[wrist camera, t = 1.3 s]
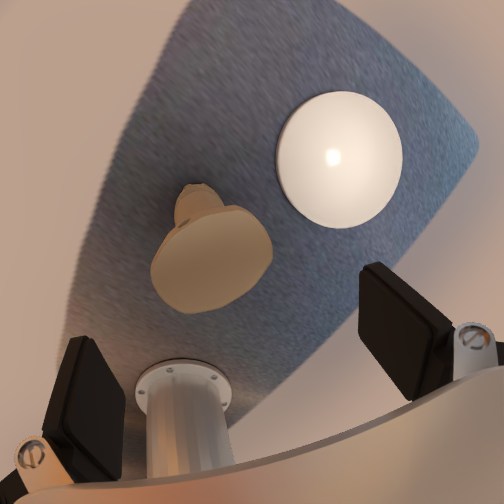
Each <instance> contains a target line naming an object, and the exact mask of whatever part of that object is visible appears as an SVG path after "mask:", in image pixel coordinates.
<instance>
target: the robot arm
mask: <svg viewBox="0 0 504 504" xmlns="http://www.w3.org/2000/svg"><path fill="white" fill-rule="evenodd" d="M358 333H359V337H360V339H361V340H362V342H363V343H364V344H365V345H366V347H367V348H368V349H369V351H370V352H371V353H372V355H373V356H374V357H375V359H376V360H377V361H378V363H379V364H380V365H381V366H382V368H383V369H384V370H385V372H386V373H387V374H388V376H389V377H390V378H391V380H392V381H393V382H394V384H395V385H396V386H397V388H398V389H399V390H400V391H401V393H402V394H403V396H404V397H405V398H406V399H407V400H408V401H411V400H412V402H411V403H409V404H407V405H405V406H403V407H400V408H398V409H396V410H394V411H392V412H390V413H388V414H385V415H383V416H381V417H379V418H376V419H374V420H372V421H369V422H367V423H365V424H362V425H360V426H357V427H355V428H353V429H350V430H347V431H345V432H342V433H339V434H337V435H334V436H331V437H329V438H326V439H323V440H320V441H317V442H314V443H311V444H308V445H305V446H302V447H299V448H296V449H292V450H289V451H286V452H282V453H279V454H275V455H272V456H268V457H265V458H261V459H257V460H253V461H249V462H245V463H240V464H236V465H235V461H234V457H233V452H232V448H231V444H230V439H229V435H228V430H227V426H226V421H225V416H224V411H225V410H226V409H227V408H228V406H229V404H230V402H231V398H232V391H231V386H230V383H229V381H228V379H227V378H226V376H225V375H224V374H223V373H222V372H221V371H220V370H218V369H217V368H215V367H214V366H212V365H209V364H207V363H204V362H200V361H196V360H188V359H178V360H170V361H165V362H162V363H159V364H156V365H154V366H152V367H150V368H149V369H147V370H146V371H145V372H144V373H143V374H142V375H141V376H140V378H139V379H138V381H137V384H136V390H135V398H136V401H137V404H138V406H139V407H140V409H141V410H142V411H143V412H144V413H145V414H146V415H147V423H146V448H147V479H139V480H127V481H118V479H120V478H121V474H122V446H123V428H124V414H125V402H126V399H125V394H124V392H123V390H122V388H121V387H120V385H119V383H118V382H117V380H116V378H115V377H114V375H113V373H112V372H111V370H110V368H109V366H108V365H107V363H106V361H105V359H104V358H103V356H102V354H101V352H100V350H99V349H98V347H97V345H96V343H95V341H94V340H93V339H89V338H88V337H87V336H85V335H84V336H79V337H74V338H71V339H70V341H69V344H68V346H67V349H66V352H65V355H64V358H63V360H62V363H61V366H60V369H59V372H58V375H57V378H56V382H55V385H54V388H53V391H52V394H51V398H50V401H49V405H48V408H47V412H46V415H45V419H44V423H43V426H42V430H43V435H42V437H40V436H32V437H28V438H26V439H25V440H23V441H22V442H21V443H20V444H19V446H18V447H17V449H16V451H15V454H14V462H15V466H16V469H15V470H14V471H13V472H11V473H10V474H9V475H8V476H7V477H5V478H4V479H3V480H2V481H1V482H0V504H504V342H497V341H495V337H494V334H493V333H492V331H491V330H490V329H489V328H487V327H486V326H484V325H482V324H480V323H474V322H469V323H464V324H461V325H460V326H458V327H457V329H455V328H454V327H453V326H452V322H451V321H450V320H449V319H448V318H447V317H446V316H444V315H443V314H442V313H441V312H440V311H439V310H438V309H436V308H435V307H434V306H433V305H432V304H431V303H430V302H428V301H427V300H426V299H425V298H424V297H422V296H421V295H420V294H419V293H418V292H417V291H415V290H414V289H413V288H412V287H411V286H409V285H408V284H407V283H406V282H405V281H403V280H402V279H401V278H400V277H398V276H397V275H396V274H395V273H394V272H392V271H391V270H390V269H389V268H387V267H386V266H385V265H384V264H382V263H381V262H375V263H371V264H368V265H365V266H364V267H363V270H362V271H360V273H359V318H358Z"/></svg>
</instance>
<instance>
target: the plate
mask: <svg viewBox="0 0 504 504" xmlns="http://www.w3.org/2000/svg"><path fill="white" fill-rule="evenodd" d="M275 163H276V172H277V176H278V180H279V183H280V186H281V188H282V190H283V192H284V194H285V196H286V197H287V199H288V200H289V202H290V203H291V204H292V205H293V206H294V207H295V208H296V209H297V210H298V211H299V212H300V213H302V214H303V215H304V216H305V217H307V218H308V219H310V220H311V221H313V222H315V223H317V224H319V225H322V226H326V227H329V228H348V227H353V226H357V225H360V224H362V223H364V222H366V221H368V220H369V219H371V218H373V217H374V216H375V215H376V214H378V213H379V212H380V211H381V210H382V209H383V208H384V207H385V205H386V204H387V203H388V202H389V200H390V199H391V197H392V195H393V194H394V192H395V189H396V187H397V185H398V182H399V179H400V174H401V169H402V147H401V142H400V138H399V135H398V132H397V129H396V127H395V125H394V123H393V121H392V120H391V118H390V117H389V115H388V114H387V113H386V112H385V111H384V109H383V108H381V107H380V106H379V105H378V104H377V103H375V102H374V101H373V100H371V99H369V98H367V97H365V96H363V95H360V94H357V93H353V92H344V91H338V92H331V93H324V94H321V95H317V96H315V97H313V98H311V99H308V100H307V101H305V102H304V103H302V104H301V105H300V106H299V107H298V108H297V109H295V110H294V112H293V113H292V114H291V115H290V116H289V118H288V119H287V121H286V122H285V124H284V126H283V128H282V130H281V132H280V135H279V138H278V142H277V147H276V158H275Z"/></svg>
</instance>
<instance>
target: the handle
mask: <svg viewBox="0 0 504 504" xmlns="http://www.w3.org/2000/svg"><path fill="white" fill-rule="evenodd" d="M174 220H175V225H176V227H175V228H174V229H172V230H171V231H170V232H169V233H168V235H167V236H166V238H165V239H164V241H163V243H162V244H161V246H160V248H159V249H158V251H157V253H156V255H155V257H154V259H153V261H152V264H151V270H150V272H151V279H152V283H153V286H154V287H155V289H156V291H157V293H158V294H159V295H160V297H161V298H162V299H163V300H164V301H165V302H166V303H167V304H168V305H169V306H171V307H172V308H174V309H175V310H178V311H180V312H182V313H186V314H193V313H199V312H204V311H210V310H214V309H217V308H221V307H223V306H225V305H227V304H229V303H230V302H232V301H234V300H235V299H237V298H238V297H240V296H241V295H243V294H245V293H246V292H247V291H249V290H250V289H251V288H252V287H253V286H254V285H255V284H256V283H257V282H258V280H259V279H260V278H261V276H262V275H263V273H264V272H265V270H266V269H267V267H268V266H269V264H270V263H271V261H272V257H273V249H272V244H271V240H270V238H269V236H268V234H267V232H266V230H265V229H264V227H263V226H262V225H261V223H260V222H259V221H258V219H257V218H256V217H255V216H254V215H252V214H251V213H250V212H249V211H247V210H246V209H244V208H242V207H239V206H237V205H231V206H224V204H223V202H222V200H221V199H220V197H219V196H218V194H217V193H216V192H215V191H214V190H212V189H211V188H210V187H208V185H206V184H204V183H202V184H194V185H191V184H188V185H186V186H185V187H184V188H183V191H182V192H181V193H180V195H179V197H178V199H177V201H176V205H175V211H174Z"/></svg>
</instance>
